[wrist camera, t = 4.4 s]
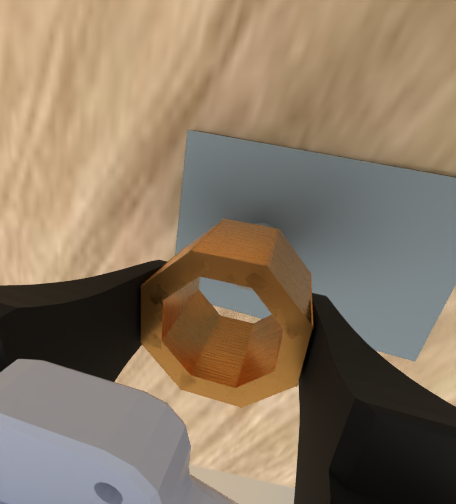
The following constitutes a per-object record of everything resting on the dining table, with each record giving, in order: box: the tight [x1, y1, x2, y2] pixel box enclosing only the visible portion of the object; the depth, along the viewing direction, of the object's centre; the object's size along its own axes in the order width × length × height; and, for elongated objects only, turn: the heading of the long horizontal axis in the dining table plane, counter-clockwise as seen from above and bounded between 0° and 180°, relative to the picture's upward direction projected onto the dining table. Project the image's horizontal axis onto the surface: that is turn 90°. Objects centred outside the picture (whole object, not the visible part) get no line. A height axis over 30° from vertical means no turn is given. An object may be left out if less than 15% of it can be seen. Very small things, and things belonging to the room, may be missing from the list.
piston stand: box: [175, 130, 456, 361], centre depth 17 cm, size 18×12×6 cm, turn 83°
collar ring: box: [140, 219, 314, 408], centre depth 11 cm, size 6×6×4 cm
